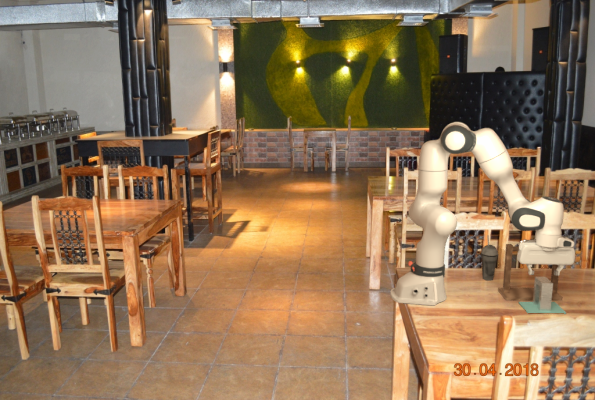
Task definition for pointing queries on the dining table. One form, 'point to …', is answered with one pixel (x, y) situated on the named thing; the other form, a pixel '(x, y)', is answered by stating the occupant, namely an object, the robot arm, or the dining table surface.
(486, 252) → the beverage cup
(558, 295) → the stand
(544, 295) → the tall rectangular pillar
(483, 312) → the dining table surface
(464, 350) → the dining table surface
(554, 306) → the mat
